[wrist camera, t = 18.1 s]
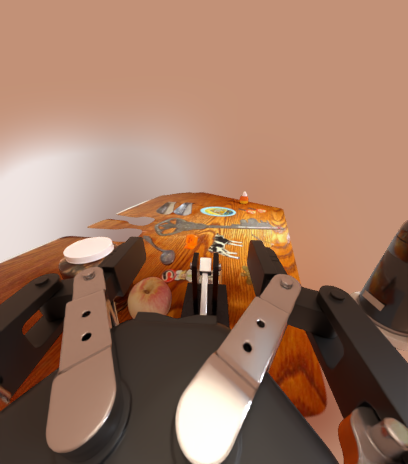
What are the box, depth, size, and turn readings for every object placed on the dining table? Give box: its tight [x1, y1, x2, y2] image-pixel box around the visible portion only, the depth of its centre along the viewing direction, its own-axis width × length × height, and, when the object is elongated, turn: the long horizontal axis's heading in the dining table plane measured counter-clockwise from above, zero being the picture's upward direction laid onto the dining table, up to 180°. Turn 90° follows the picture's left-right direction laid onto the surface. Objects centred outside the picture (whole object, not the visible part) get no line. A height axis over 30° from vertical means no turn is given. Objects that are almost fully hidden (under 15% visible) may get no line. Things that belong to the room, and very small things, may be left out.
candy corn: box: [239, 192, 248, 204], centre depth 107 cm, size 6×3×8 cm, turn 76°
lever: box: [199, 258, 211, 315], centre depth 29 cm, size 13×3×3 cm, turn 176°
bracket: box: [181, 253, 230, 328], centre depth 34 cm, size 12×10×14 cm
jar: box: [59, 237, 134, 312], centre depth 37 cm, size 12×12×15 cm
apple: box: [128, 277, 172, 319], centre depth 34 cm, size 9×9×8 cm
